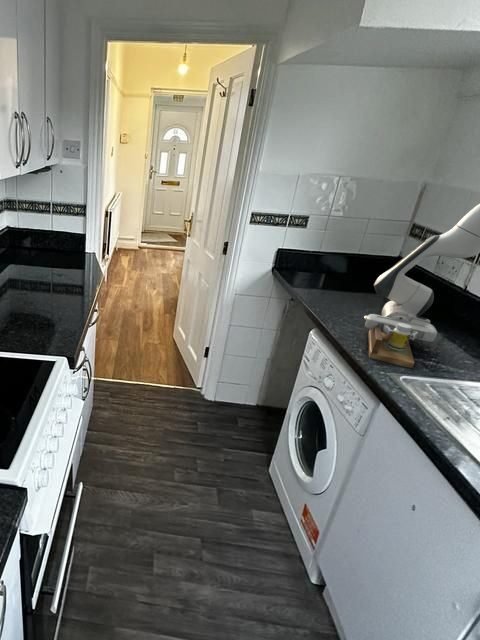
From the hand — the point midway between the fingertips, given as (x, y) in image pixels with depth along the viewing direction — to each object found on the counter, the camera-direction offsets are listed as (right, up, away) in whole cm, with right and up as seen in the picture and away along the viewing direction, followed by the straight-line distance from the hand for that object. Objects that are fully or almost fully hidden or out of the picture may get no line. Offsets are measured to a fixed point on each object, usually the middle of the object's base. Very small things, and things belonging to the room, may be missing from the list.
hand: (401, 335), depth 137 cm
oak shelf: (0, -5, +6) cm, 8 cm away
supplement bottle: (0, -4, +3) cm, 5 cm away
